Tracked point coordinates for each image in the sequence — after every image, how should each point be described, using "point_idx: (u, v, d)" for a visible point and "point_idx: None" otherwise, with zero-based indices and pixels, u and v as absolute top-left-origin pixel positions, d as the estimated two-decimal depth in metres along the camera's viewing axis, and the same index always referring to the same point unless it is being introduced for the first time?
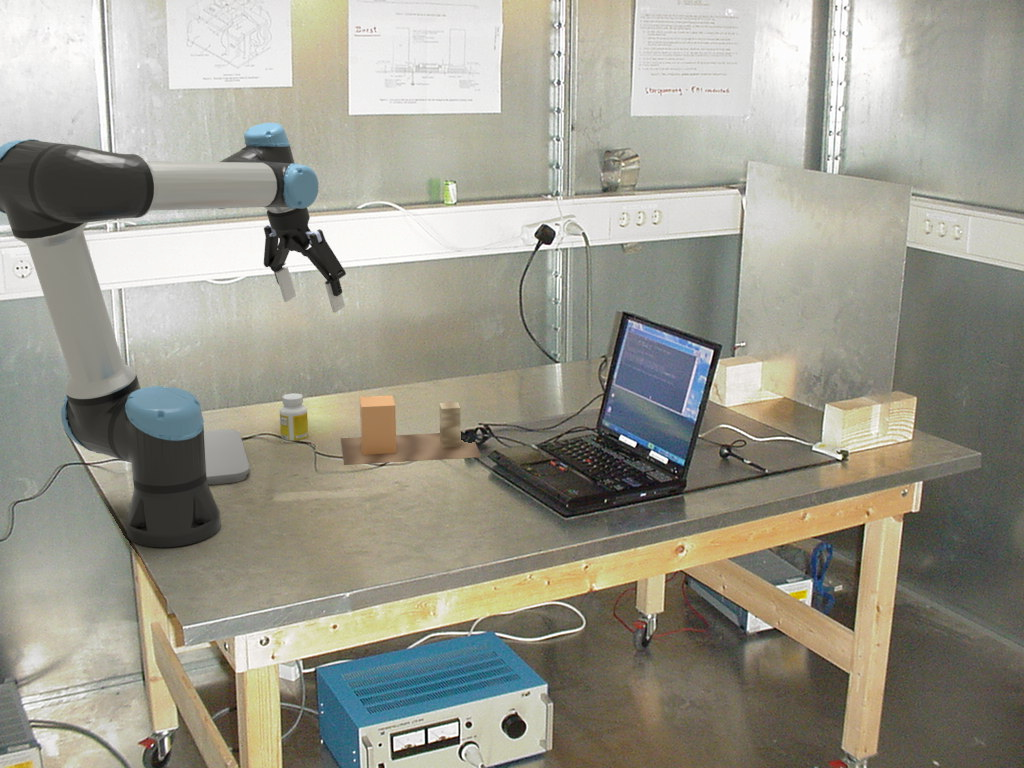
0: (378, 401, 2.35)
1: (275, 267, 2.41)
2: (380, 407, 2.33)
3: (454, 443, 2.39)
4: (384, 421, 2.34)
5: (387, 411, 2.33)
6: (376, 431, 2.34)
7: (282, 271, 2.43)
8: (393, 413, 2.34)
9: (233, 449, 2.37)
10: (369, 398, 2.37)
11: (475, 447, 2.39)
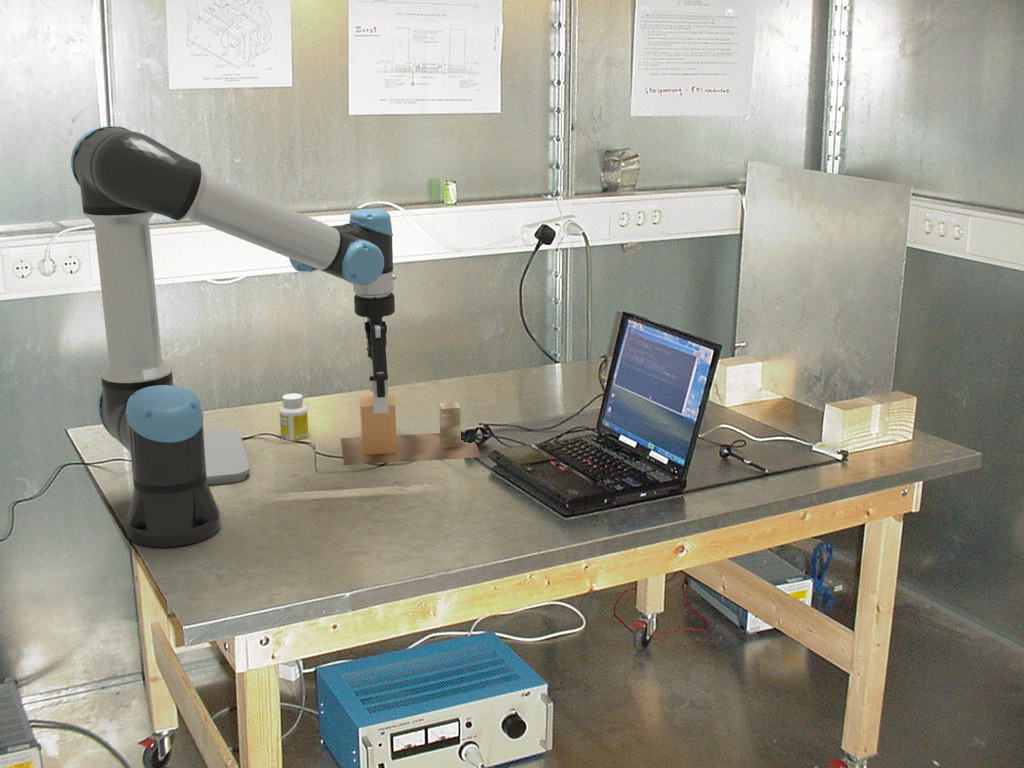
0: None
1: (368, 353, 2.40)
2: None
3: (454, 443, 2.39)
4: (384, 421, 2.34)
5: None
6: (376, 431, 2.34)
7: None
8: (393, 413, 2.34)
9: (233, 449, 2.37)
10: (369, 398, 2.37)
11: (475, 447, 2.39)
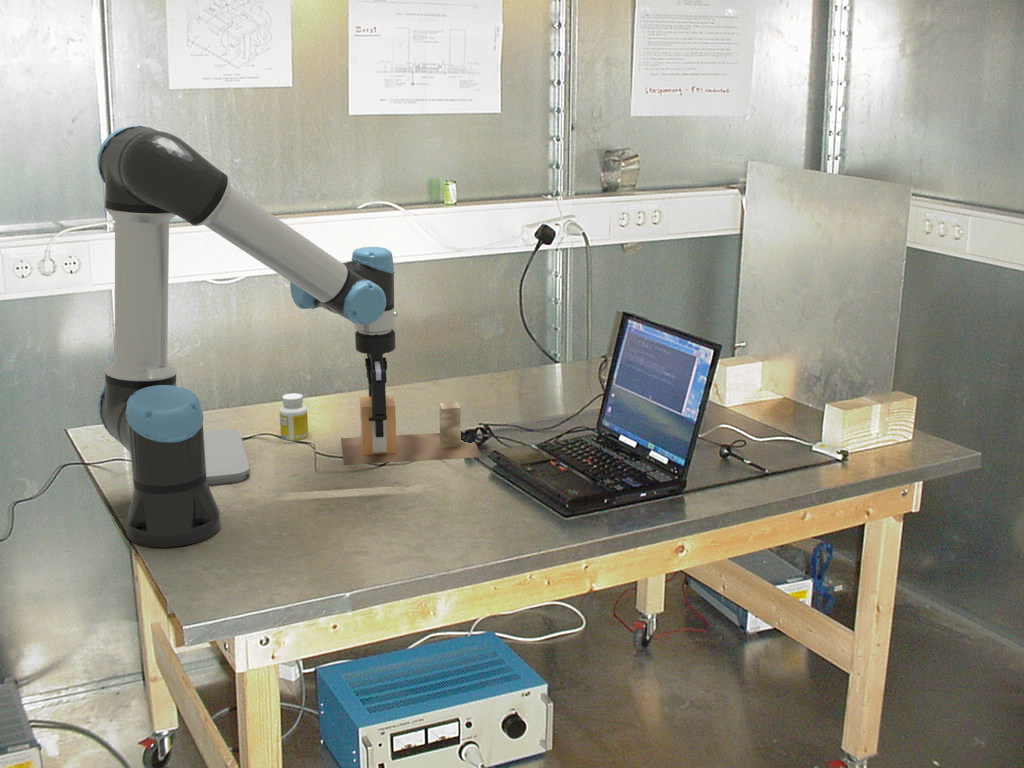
0: None
1: None
2: None
3: (454, 443, 2.39)
4: None
5: (387, 411, 2.33)
6: None
7: None
8: (393, 413, 2.34)
9: (233, 449, 2.37)
10: (369, 398, 2.37)
11: (475, 447, 2.39)
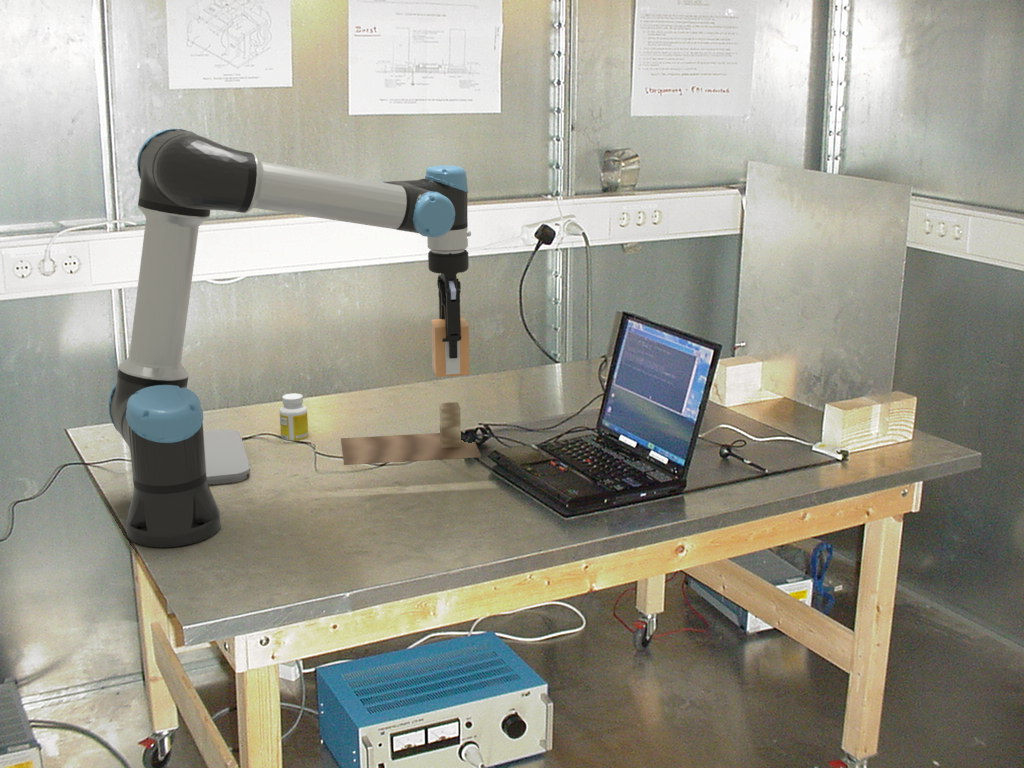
0: None
1: None
2: None
3: (454, 443, 2.39)
4: None
5: None
6: None
7: None
8: (466, 334, 2.32)
9: (233, 449, 2.37)
10: (441, 321, 2.35)
11: (475, 447, 2.39)
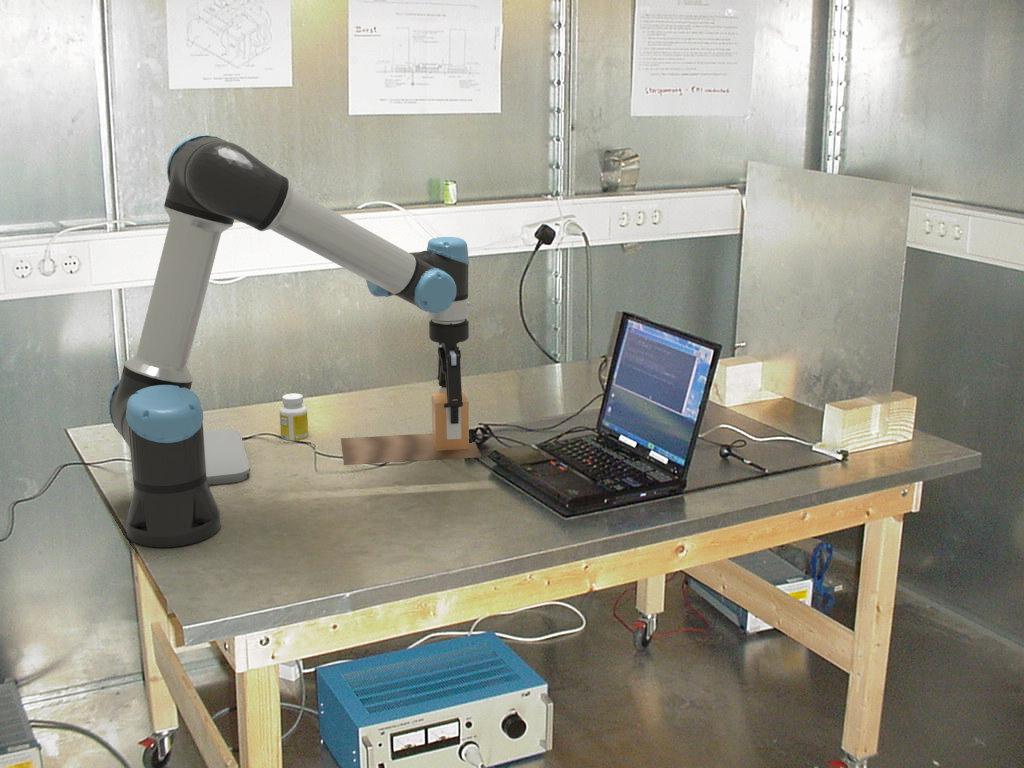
0: None
1: (439, 382, 2.43)
2: None
3: None
4: None
5: None
6: None
7: (445, 389, 2.43)
8: (466, 409, 2.36)
9: (233, 449, 2.37)
10: (441, 395, 2.40)
11: (475, 447, 2.39)
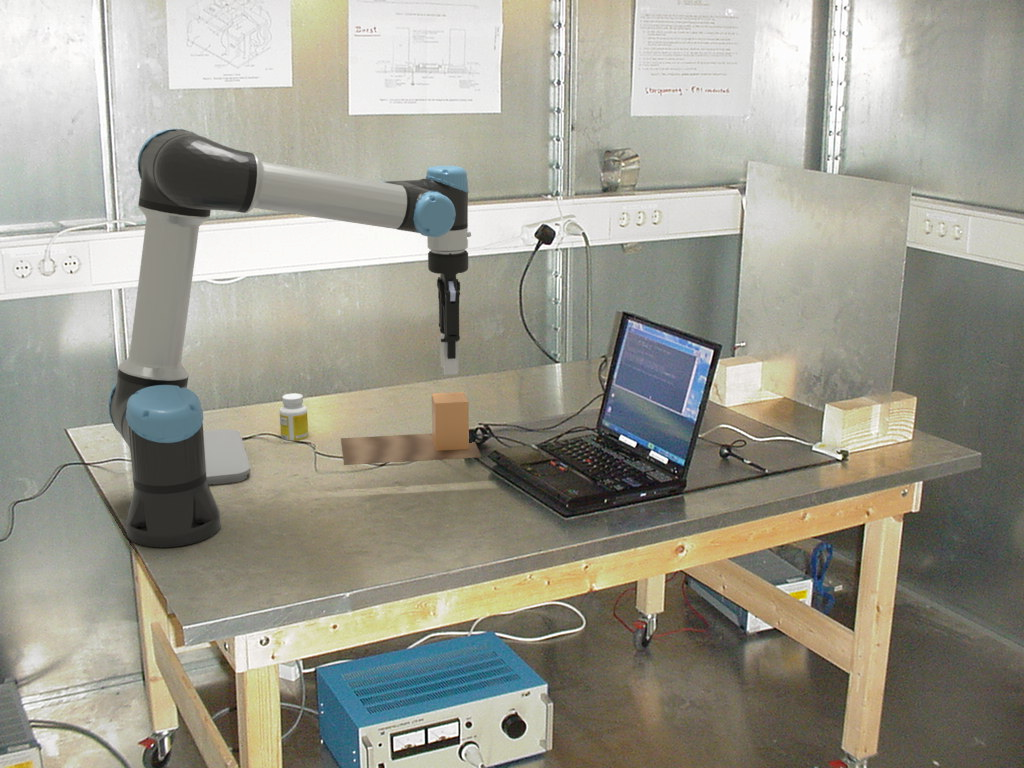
0: (451, 398, 2.38)
1: (441, 326, 2.37)
2: (454, 403, 2.35)
3: None
4: (457, 417, 2.36)
5: (460, 407, 2.36)
6: (449, 427, 2.37)
7: None
8: (466, 409, 2.36)
9: (234, 449, 2.37)
10: (441, 395, 2.40)
11: (475, 447, 2.39)
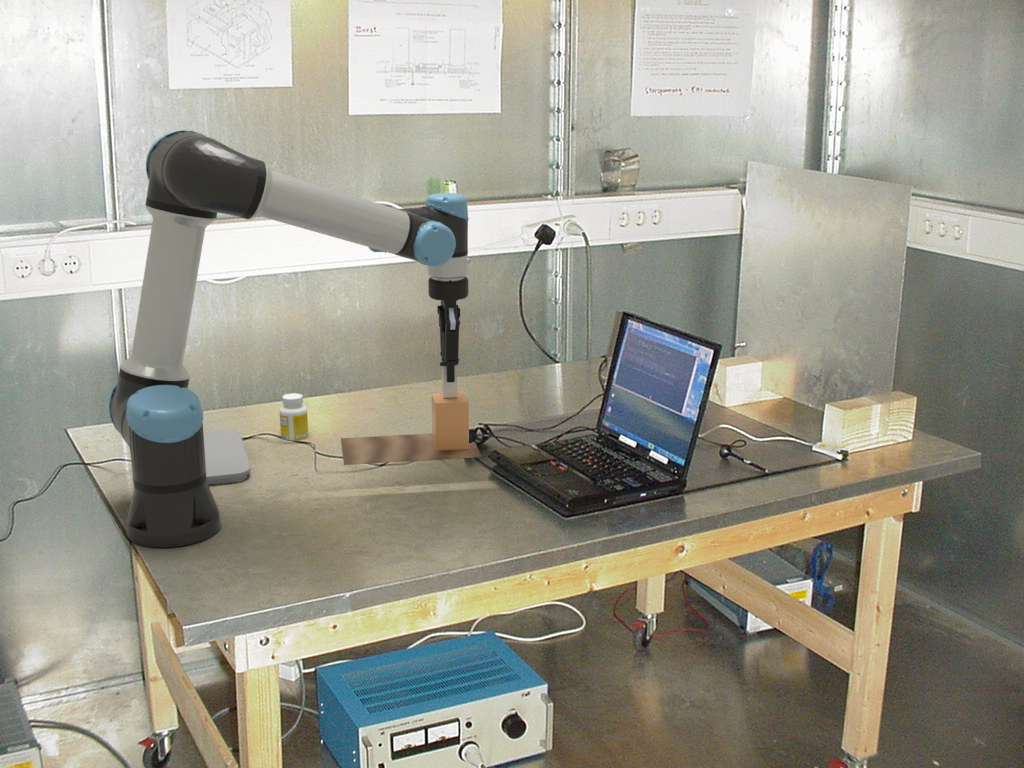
0: (451, 398, 2.38)
1: (442, 355, 2.36)
2: (454, 403, 2.35)
3: None
4: (457, 417, 2.36)
5: (460, 407, 2.36)
6: (449, 427, 2.37)
7: None
8: (466, 409, 2.36)
9: (234, 449, 2.37)
10: (441, 395, 2.40)
11: (475, 447, 2.39)
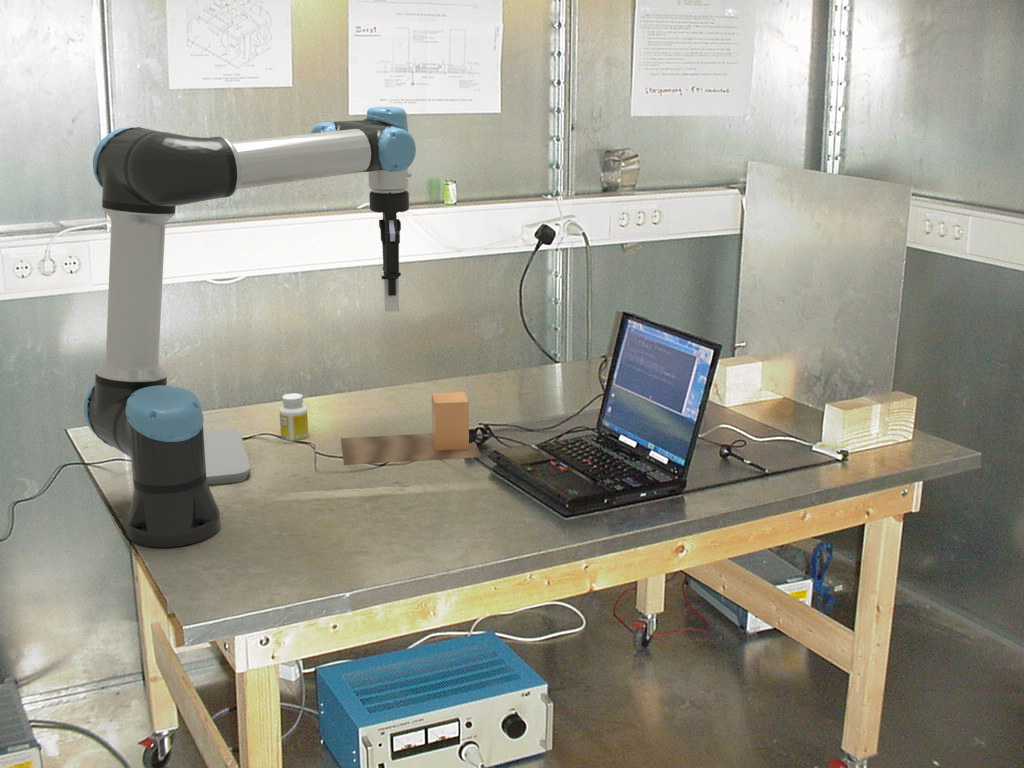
0: (451, 398, 2.38)
1: (384, 269, 2.40)
2: (454, 403, 2.35)
3: None
4: (457, 417, 2.36)
5: (460, 407, 2.36)
6: (449, 427, 2.37)
7: None
8: (466, 409, 2.36)
9: (234, 449, 2.37)
10: (441, 395, 2.40)
11: (475, 447, 2.39)
